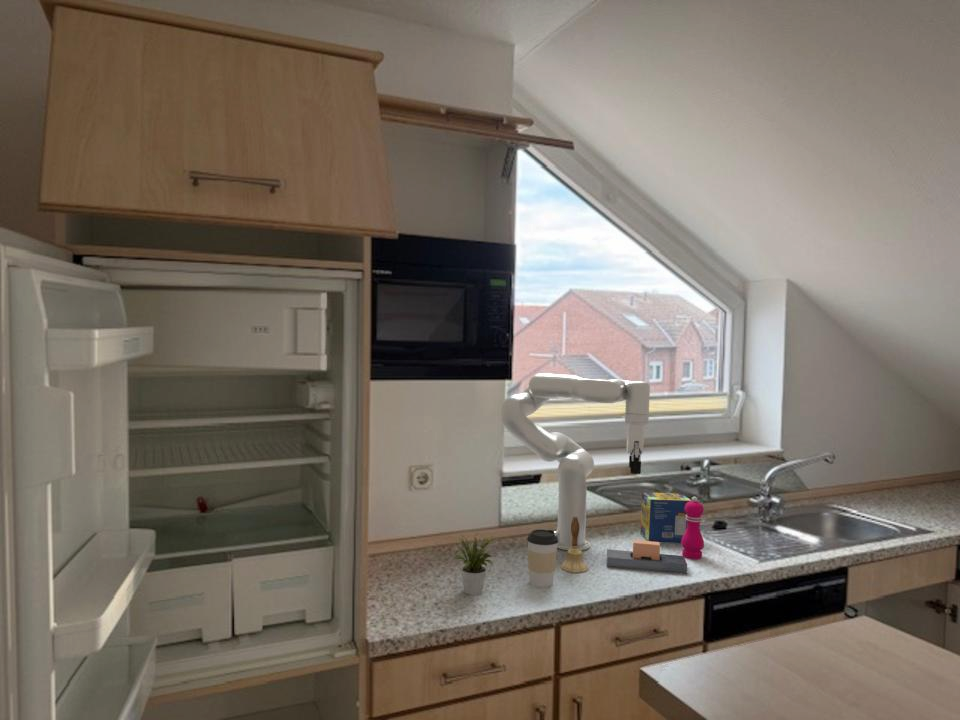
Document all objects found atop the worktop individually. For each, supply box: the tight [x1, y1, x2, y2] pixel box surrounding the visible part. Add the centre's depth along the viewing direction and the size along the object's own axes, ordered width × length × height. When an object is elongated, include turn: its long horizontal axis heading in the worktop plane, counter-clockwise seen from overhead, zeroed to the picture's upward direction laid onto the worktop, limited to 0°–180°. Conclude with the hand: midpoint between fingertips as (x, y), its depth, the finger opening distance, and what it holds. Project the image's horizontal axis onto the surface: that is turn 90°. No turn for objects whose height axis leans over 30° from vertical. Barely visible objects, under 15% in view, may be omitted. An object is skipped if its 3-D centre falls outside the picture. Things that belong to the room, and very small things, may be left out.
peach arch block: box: [632, 539, 661, 560], centre depth 206 cm, size 8×3×8 cm, turn 80°
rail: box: [606, 548, 688, 575], centre depth 206 cm, size 24×8×3 cm, turn 80°
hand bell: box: [560, 517, 589, 574], centre depth 201 cm, size 8×8×16 cm
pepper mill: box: [680, 496, 705, 560], centre depth 216 cm, size 7×7×20 cm
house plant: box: [446, 532, 494, 596], centre depth 180 cm, size 14×14×16 cm
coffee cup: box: [526, 529, 558, 588], centre depth 188 cm, size 9×9×15 cm
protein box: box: [639, 492, 692, 544], centre depth 235 cm, size 10×15×16 cm
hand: (634, 470), depth 214 cm, fingers open, 9 cm apart
